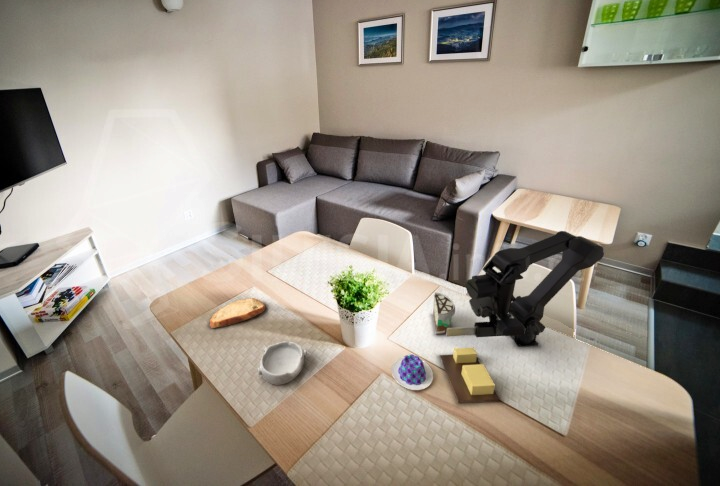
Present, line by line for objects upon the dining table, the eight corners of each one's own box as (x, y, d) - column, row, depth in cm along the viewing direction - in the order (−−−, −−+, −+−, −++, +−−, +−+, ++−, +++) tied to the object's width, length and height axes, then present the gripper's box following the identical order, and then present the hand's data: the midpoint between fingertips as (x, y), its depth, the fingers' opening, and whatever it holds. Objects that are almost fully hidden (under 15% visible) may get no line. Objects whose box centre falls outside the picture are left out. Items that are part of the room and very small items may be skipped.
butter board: (474, 355, 103) (474, 353, 102) (499, 401, 89) (499, 398, 88) (439, 357, 103) (439, 355, 103) (458, 403, 89) (458, 400, 89)
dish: (310, 355, 108) (309, 344, 106) (294, 392, 96) (292, 380, 94) (271, 346, 112) (269, 336, 110) (251, 380, 101) (248, 369, 99)
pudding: (383, 366, 101) (384, 354, 99) (415, 352, 105) (416, 340, 103) (408, 398, 91) (408, 385, 89) (441, 381, 95) (443, 368, 93)
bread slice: (205, 326, 124) (203, 318, 123) (233, 297, 139) (231, 290, 138) (245, 337, 118) (243, 329, 116) (269, 305, 133) (268, 298, 131)
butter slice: (472, 355, 101) (473, 347, 100) (475, 362, 99) (477, 353, 98) (453, 356, 102) (454, 348, 100) (456, 363, 99) (457, 355, 98)
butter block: (481, 372, 96) (483, 364, 94) (493, 394, 89) (495, 385, 88) (461, 373, 96) (462, 365, 95) (471, 395, 90) (472, 386, 88)
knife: (511, 329, 104) (513, 320, 103) (515, 335, 102) (517, 325, 101) (445, 333, 105) (446, 323, 103) (447, 338, 103) (448, 329, 101)
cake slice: (455, 339, 109) (458, 316, 105) (436, 338, 110) (438, 314, 106) (450, 314, 120) (452, 292, 116) (432, 313, 121) (434, 291, 117)
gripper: (462, 274, 105) (457, 312, 112) (489, 314, 88) (482, 356, 95) (497, 272, 105) (490, 310, 111) (531, 311, 88) (521, 354, 94)
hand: (494, 331), depth 103 cm, fingers closed on knife, 2 cm apart
